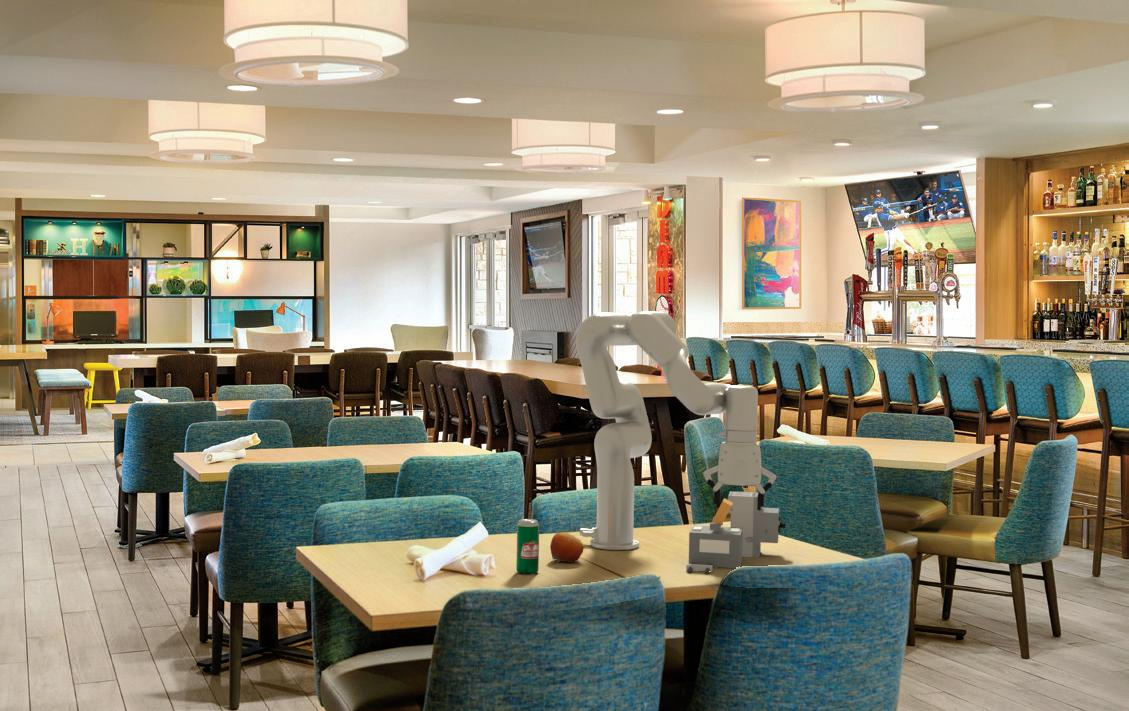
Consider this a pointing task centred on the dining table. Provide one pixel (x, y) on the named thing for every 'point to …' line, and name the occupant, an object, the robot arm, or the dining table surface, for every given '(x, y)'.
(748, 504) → the circuit breaker
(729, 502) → the lever
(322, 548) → the dining table surface
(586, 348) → the robot arm
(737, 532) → the panel
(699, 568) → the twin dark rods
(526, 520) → the soda can
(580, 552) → the fruit
